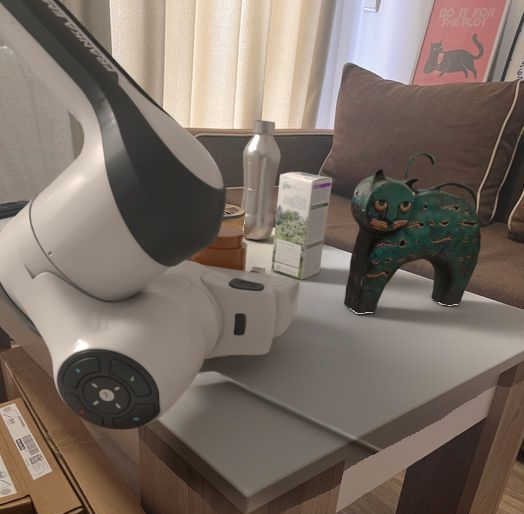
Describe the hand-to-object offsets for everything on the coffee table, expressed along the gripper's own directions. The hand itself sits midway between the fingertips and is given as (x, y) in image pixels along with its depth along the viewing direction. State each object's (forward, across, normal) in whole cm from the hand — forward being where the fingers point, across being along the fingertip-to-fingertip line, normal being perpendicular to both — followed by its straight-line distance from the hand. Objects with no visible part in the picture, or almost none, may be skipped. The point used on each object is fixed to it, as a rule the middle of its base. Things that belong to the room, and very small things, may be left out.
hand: (219, 268), depth 61 cm
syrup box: (+20, +7, -6) cm, 22 cm away
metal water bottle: (+37, -3, -6) cm, 38 cm away
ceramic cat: (+12, +23, -6) cm, 27 cm away
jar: (-1, 0, -6) cm, 6 cm away
